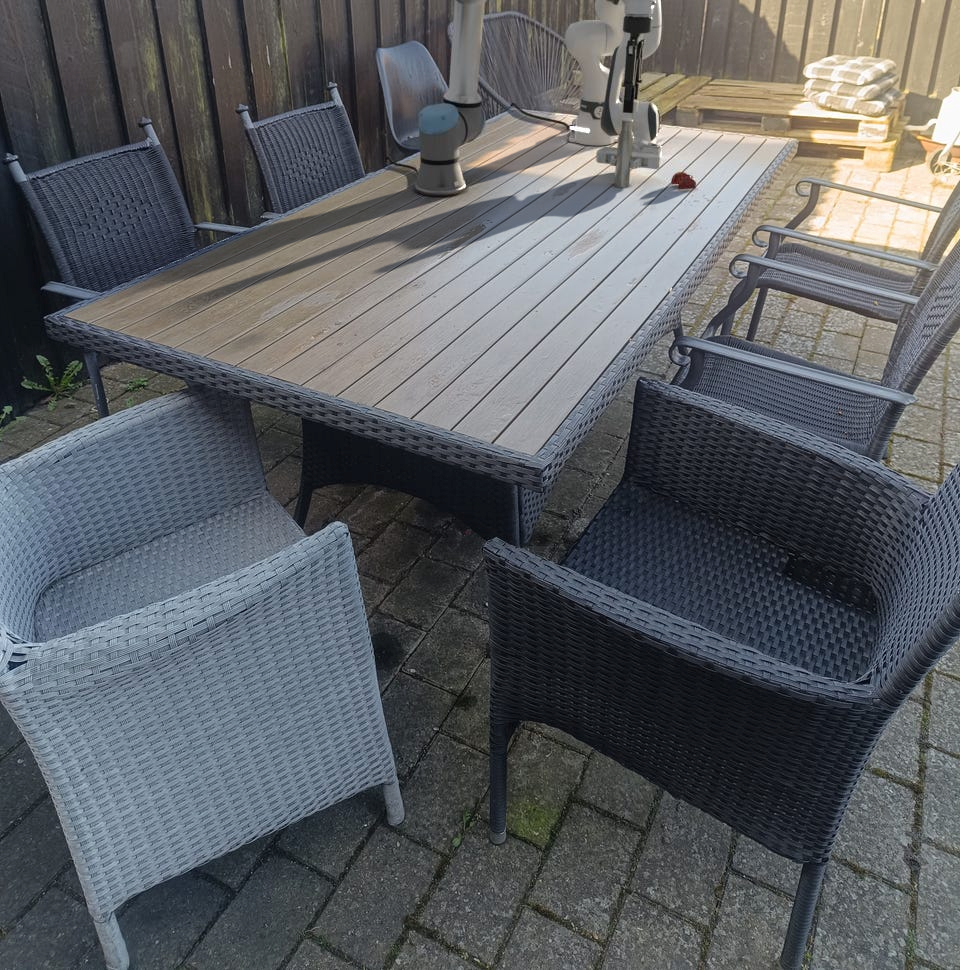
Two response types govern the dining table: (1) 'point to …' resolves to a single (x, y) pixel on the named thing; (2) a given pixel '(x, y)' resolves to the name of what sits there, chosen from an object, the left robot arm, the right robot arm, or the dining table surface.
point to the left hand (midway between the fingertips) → (629, 110)
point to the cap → (636, 103)
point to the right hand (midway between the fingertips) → (622, 164)
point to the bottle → (624, 154)
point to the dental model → (683, 180)
